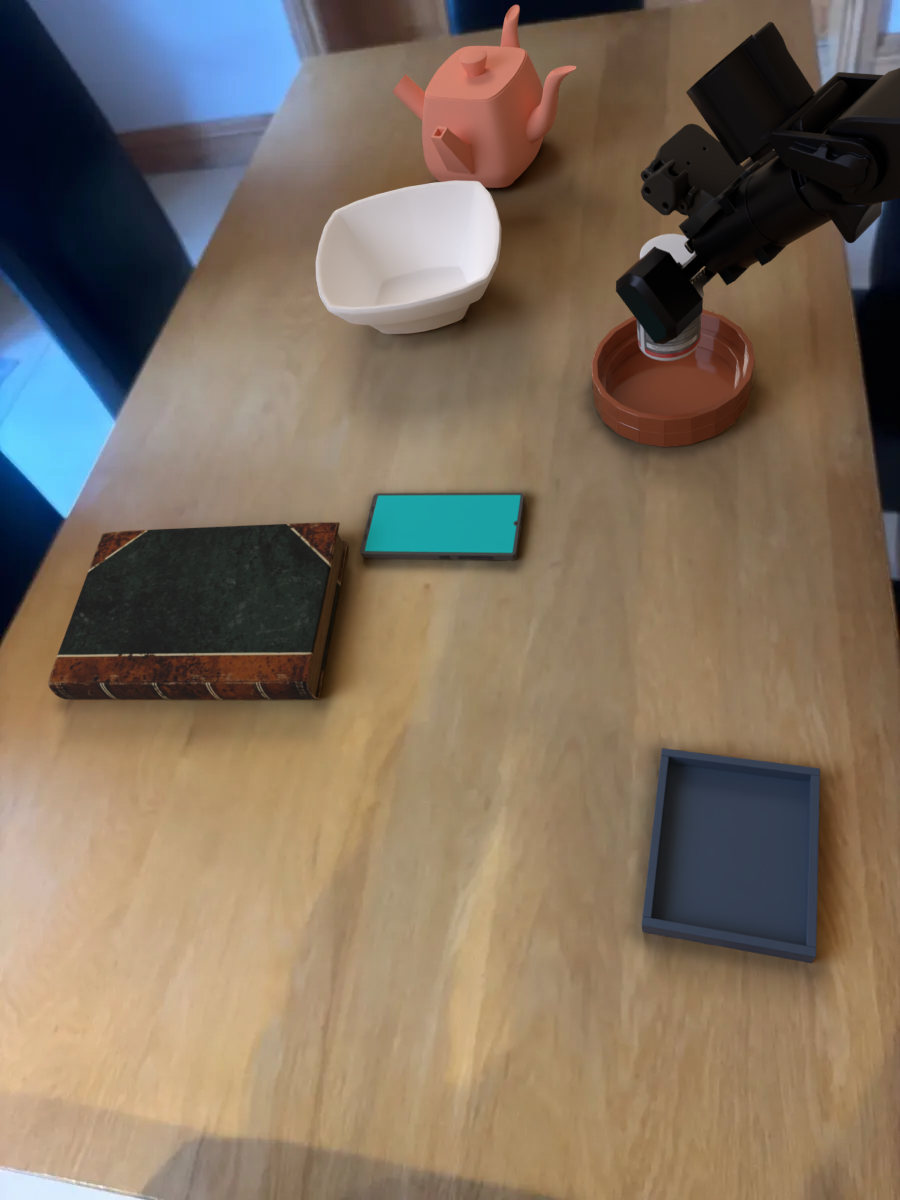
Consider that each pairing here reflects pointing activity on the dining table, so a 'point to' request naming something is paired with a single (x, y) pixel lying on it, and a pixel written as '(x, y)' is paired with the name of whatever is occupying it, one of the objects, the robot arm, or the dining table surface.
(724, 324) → the terracotta bowl
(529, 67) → the teapot
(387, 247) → the bowl
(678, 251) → the pill bottle
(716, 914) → the tray
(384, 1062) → the dining table surface
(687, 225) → the robot arm
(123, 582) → the book
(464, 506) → the smartphone
